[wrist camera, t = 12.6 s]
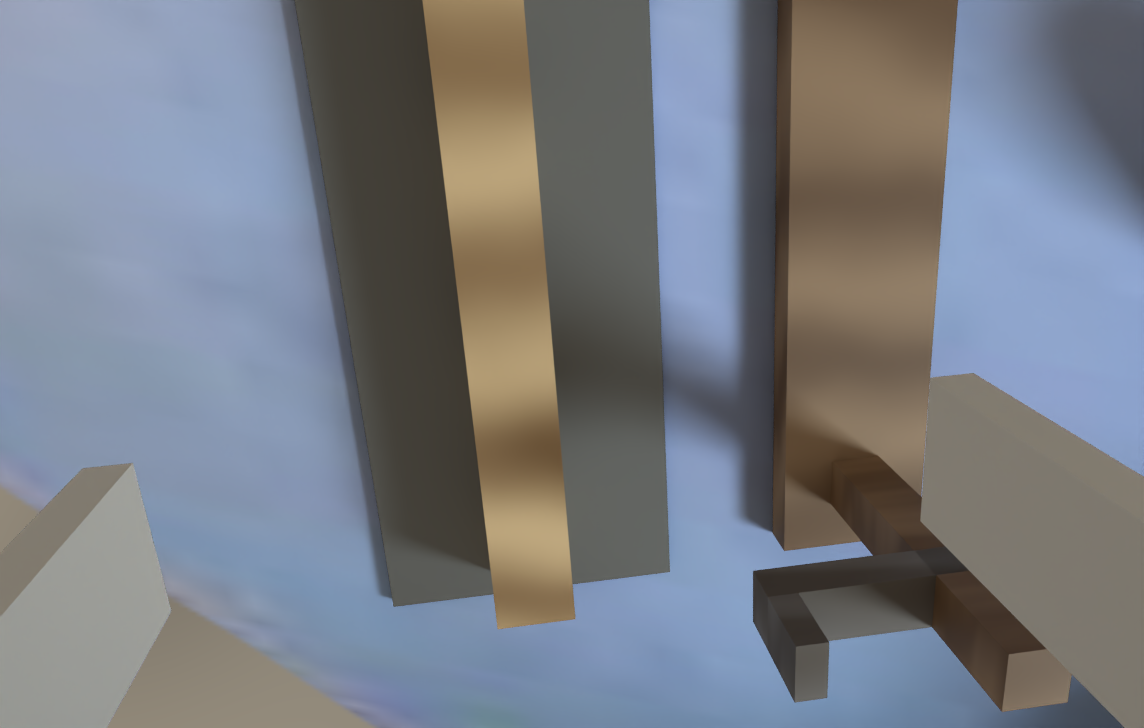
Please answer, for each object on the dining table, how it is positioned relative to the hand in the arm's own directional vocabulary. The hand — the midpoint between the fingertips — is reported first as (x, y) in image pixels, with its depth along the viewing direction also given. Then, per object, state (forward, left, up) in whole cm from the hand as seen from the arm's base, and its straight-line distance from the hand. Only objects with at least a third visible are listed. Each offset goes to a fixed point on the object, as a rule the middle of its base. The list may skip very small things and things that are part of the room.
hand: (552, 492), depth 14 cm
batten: (0, 0, -19) cm, 19 cm away
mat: (0, 0, -20) cm, 20 cm away
